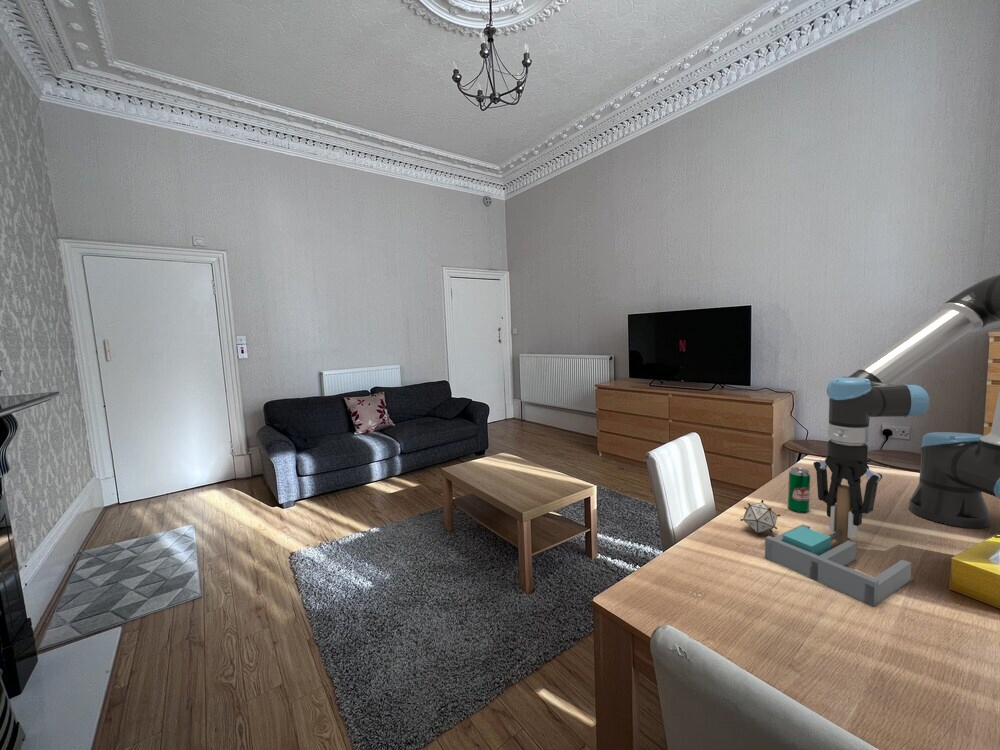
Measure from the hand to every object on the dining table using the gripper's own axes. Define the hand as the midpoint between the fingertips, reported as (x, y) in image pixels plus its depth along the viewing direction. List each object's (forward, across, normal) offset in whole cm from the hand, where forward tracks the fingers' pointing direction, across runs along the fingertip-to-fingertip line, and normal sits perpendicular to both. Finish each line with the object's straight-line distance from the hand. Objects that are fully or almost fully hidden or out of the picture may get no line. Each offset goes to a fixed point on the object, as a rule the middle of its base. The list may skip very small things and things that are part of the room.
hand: (843, 533), depth 104 cm
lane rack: (+2, +5, -15) cm, 16 cm away
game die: (+2, -13, -12) cm, 18 cm away
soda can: (+2, -15, +10) cm, 18 cm away
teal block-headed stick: (+2, 0, -10) cm, 10 cm away
